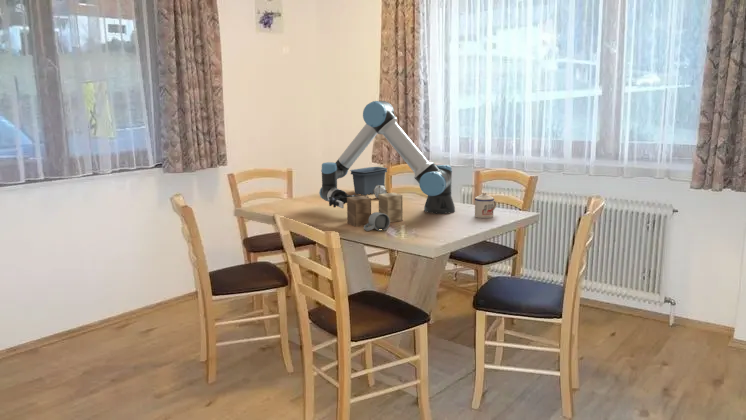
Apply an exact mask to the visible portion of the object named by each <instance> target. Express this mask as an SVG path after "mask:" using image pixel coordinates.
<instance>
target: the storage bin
mask: <svg viewBox="0 0 746 420" xmlns="http://www.w3.org/2000/svg"><path fill="white" fill-rule="evenodd" d="M349 171H350V175H352V182H353V189H354V195H359V194H361V195H360V196H368V195H372V194H373V195H375V194H374V193H373V192H374V189H375V187H376V185H386V184H385V181H386V179H385V178H386V173H387V172H388V168H387V167H383V166H369V167H362V168H355V169H350V170H349ZM372 190H373V191H372ZM370 193H371V194H370ZM367 194H368V195H367Z"/></svg>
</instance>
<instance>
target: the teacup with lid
mask: <svg viewBox="0 0 746 420" xmlns="http://www.w3.org/2000/svg"><path fill="white" fill-rule="evenodd" d="M496 208H497V201H496V200H495V198H494V197H493V196H491V195H489V194H487V191H483V192H482V193H481V194H480V195H478V196H475V197H474V217H476V218H477V219H491V218H493V217H494V211H495V209H496Z"/></svg>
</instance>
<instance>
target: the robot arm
mask: <svg viewBox="0 0 746 420" xmlns="http://www.w3.org/2000/svg"><path fill="white" fill-rule="evenodd" d="M362 118H363V121H364V122H365V125H364V126H363V127H361V128H362V129H360V131H359V132H358V133H357V135H356V136H355V137H354V139H352V141H351V142H350V144H349V145H348V146H347V147H346V149H345V150H344V151H343V153H342V154H341V155H340V156H339V157H338V159H337V160H336V161H335V162H333V161H332V162H331V161H328V162H323V163H322V164H321V170H320V171H321V187H320V189H319V192H318V194H319V196H320V198H321V199H322V200H323V201H325V202H328V206H329V207H331V206H333V208H336V207H338V208H339V209H344V208H345V207H344V205H345V204H347V197H355V196H359V194H351V195H350V194H348V193H347V192H346V191H345V190H342V189H340V188H338V180H339V179H341V178H344V177H345V176H346V175H347V174H348V172H349V171H350V170H349V169H350V168H351V167H352V166H353V165H354V164H355V162H356V161H357V159H359V157H360V156H361V155H362V154H363V152H364V151H365V150H366V148H368V146H369V145H370V144H371V142H372V141H373V139H375V137H376V136H377V135H383V137H384V138H385V139H386V141H388V143H389V144H390V145H391V146H392V147H393V149H394V150H395V152H397V154H398V155H399V156H400V157H401V159H402V160H403V161H404V162H405V163H406V164H407V166H408V167H409V168H410V169H411V170H412V172H413V173H414V180H415V181H416V182H417V183H418V184H419V185H418V186H419V188H420V190H421V192H422V193H423V194H424V195H426V196H427V197H426V201H425V203H424V208H423V210H424V212H425V213H428V214H437V215H438V214H441V215H444V214H452V213H454V212H455V211H456V206H455V203H454V201H453V197H452V178H453V175H452V173H453V170H452V166H451V165H445V164H444V165H441V164H440V165H439V164H438V165H436V163H435V162H432V161H429V160H428V159H427V158H426V157H425V155H424V154H423V153H422V152H421V151H420V148H419V147H417V146H416V144H415V143H414V142H413V141H412V140H411V139H410V136H408V135H407V133H406V132H405V131H404V130H403V129H402V128H401V126H400V125H399V124H398V122H397V121H398V117H396V115H395V110H394V106H393V105H392V104H391V103H390V102H389V101H386V100H373V101H371V102H369V103H368V104H366V105H365V107H364V108H363V111H362ZM364 196H365V197H368V198H370V197H369V196H368V195H364Z"/></svg>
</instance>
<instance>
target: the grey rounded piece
mask: <svg viewBox="0 0 746 420" xmlns="http://www.w3.org/2000/svg"><path fill="white" fill-rule="evenodd" d="M372 191H373V190H372ZM373 193H374V194H373V195H374V196H375V198H374V199H375V200H376V199H379V194H386V193H389V192H388V190H387V189H386V184H384V185H376V187H375V189H374V192H373Z"/></svg>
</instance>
